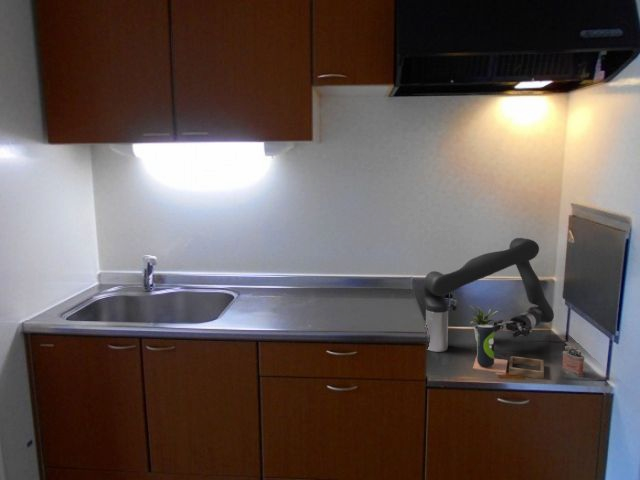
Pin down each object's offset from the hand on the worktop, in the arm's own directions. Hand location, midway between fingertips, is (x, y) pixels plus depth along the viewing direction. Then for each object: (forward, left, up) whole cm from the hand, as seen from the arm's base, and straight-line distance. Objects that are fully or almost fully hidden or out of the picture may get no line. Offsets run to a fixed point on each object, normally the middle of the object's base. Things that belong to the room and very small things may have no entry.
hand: (503, 332), depth 200 cm
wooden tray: (+9, -9, -11) cm, 17 cm away
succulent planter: (+25, -6, -11) cm, 28 cm away
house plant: (-11, +17, -11) cm, 23 cm away
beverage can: (-6, -11, -10) cm, 16 cm away
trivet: (-4, -9, -11) cm, 15 cm away
